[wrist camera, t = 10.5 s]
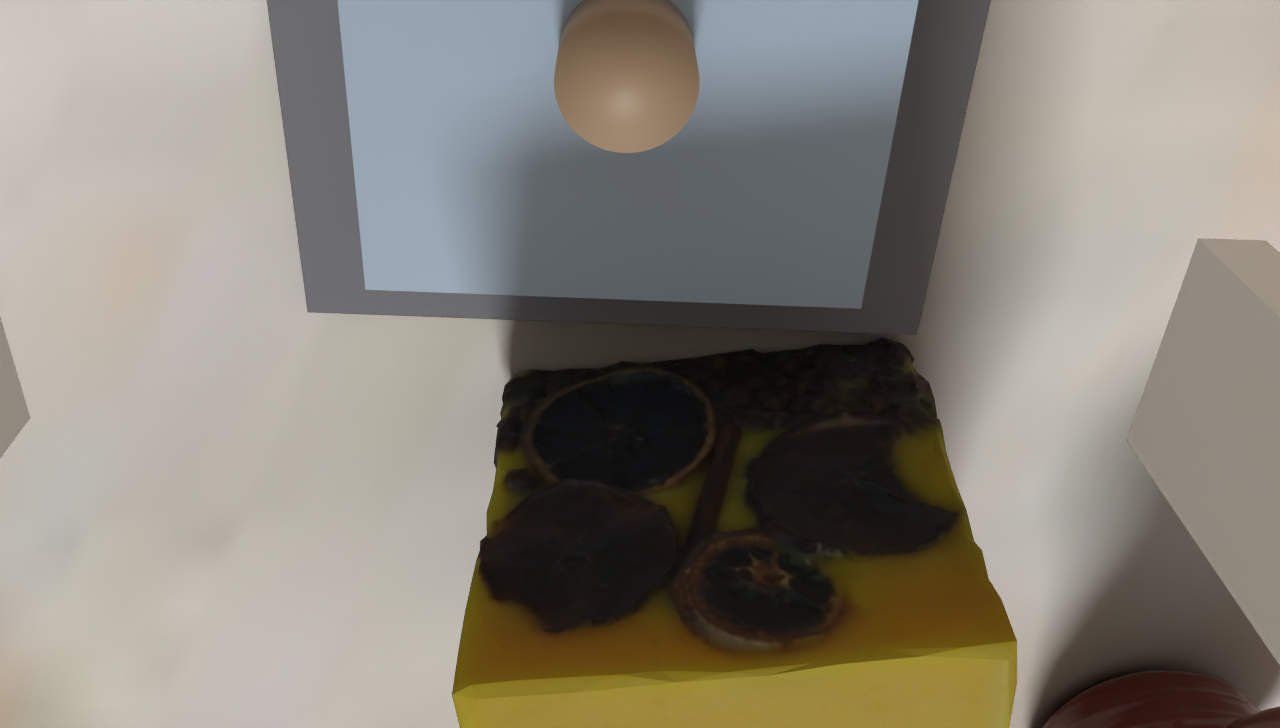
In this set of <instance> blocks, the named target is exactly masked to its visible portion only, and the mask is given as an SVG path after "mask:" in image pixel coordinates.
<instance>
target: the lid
mask: <svg viewBox="0 0 1280 728" xmlns="http://www.w3.org/2000/svg"><path fill="white" fill-rule="evenodd" d="M918 1H919V0H338V11H339V21H340V31H341V42H342V52H343V63H344V73H345V83H346V94H347V104H348V114H349V125H350V135H351V146H352V156H353V166H354V177H355V187H356V197H357V208H358V218H359V229H360V239H361V249H362V260H363V270H364V280H365V290H387V291H413V292H439V293H465V294H491V295H517V296H544V297H570V298H596V299H622V300H648V301H674V302H701V303H727V304H753V305H779V306H805V307H831V308H857V309H861V306H862V301H863V296H864V290H865V285H866V279H867V274H868V269H869V263H870V258H871V253H872V247H873V242H874V237H875V231H876V226H877V220H878V215H879V210H880V204H881V199H882V194H883V188H884V183H885V178H886V172H887V167H888V161H889V156H890V151H891V145H892V140H893V135H894V129H895V124H896V119H897V113H898V108H899V102H900V97H901V92H902V86H903V81H904V76H905V70H906V65H907V60H908V54H909V49H910V43H911V38H912V33H913V27H914V22H915V17H916V11H917V6H918Z"/></svg>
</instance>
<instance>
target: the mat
mask: <svg viewBox="0 0 1280 728" xmlns="http://www.w3.org/2000/svg"><path fill="white" fill-rule="evenodd" d="M990 1H991V0H919V1H918V6H917V11H916V17H915V22H914V27H913V33H912V38H911V43H910V49H909V54H908V60H907V65H906V70H905V76H904V81H903V86H902V92H901V97H900V102H899V108H898V113H897V119H896V124H895V129H894V135H893V140H892V145H891V151H890V156H889V161H888V167H887V172H886V178H885V183H884V188H883V194H882V199H881V204H880V210H879V215H878V220H877V226H876V231H875V237H874V242H873V247H872V253H871V258H870V263H869V269H868V274H867V279H866V285H865V290H864V296H863V301H862V306H861V309H857V308H831V307H805V306H779V305H753V304H727V303H701V302H674V301H648V300H622V299H596V298H570V297H544V296H517V295H491V294H465V293H439V292H413V291H387V290H365V280H364V270H363V260H362V249H361V239H360V229H359V218H358V208H357V197H356V187H355V177H354V166H353V156H352V146H351V135H350V125H349V114H348V104H347V94H346V83H345V73H344V63H343V52H342V42H341V31H340V21H339V11H338V0H267V6H268V13H269V21H270V29H271V36H272V44H273V52H274V59H275V67H276V75H277V82H278V90H279V97H280V105H281V113H282V120H283V128H284V136H285V143H286V151H287V159H288V166H289V174H290V181H291V189H292V197H293V204H294V212H295V220H296V227H297V235H298V243H299V250H300V258H301V265H302V273H303V281H304V288H305V296H306V304H307V311H308V312H315V313H342V314H369V315H396V316H423V317H450V318H477V319H503V320H530V321H557V322H584V323H611V324H638V325H665V326H691V327H718V328H745V329H772V330H799V331H826V332H853V333H879V334H906V335H917V331H918V326H919V322H920V317H921V313H922V308H923V304H924V299H925V295H926V290H927V286H928V281H929V277H930V272H931V267H932V263H933V258H934V254H935V249H936V245H937V240H938V236H939V231H940V227H941V222H942V218H943V213H944V209H945V204H946V200H947V195H948V191H949V186H950V182H951V177H952V173H953V168H954V164H955V159H956V155H957V150H958V146H959V141H960V136H961V132H962V127H963V123H964V118H965V114H966V109H967V105H968V100H969V96H970V91H971V87H972V82H973V78H974V73H975V69H976V64H977V60H978V55H979V51H980V46H981V42H982V37H983V33H984V28H985V24H986V19H987V15H988V10H989V5H990Z"/></svg>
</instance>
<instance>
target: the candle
mask: <svg viewBox="0 0 1280 728" xmlns="http://www.w3.org/2000/svg"><path fill="white" fill-rule="evenodd" d="M913 361H914V358H913V357H912V355H911V353H910V351H909V350H908V349H907V348H906V347H905V346H904V345H903V344H902V343H898V342H895V341H891V340H888V339H884V338H880V339H878V340H877V341H875V342H873V343H871V344H869V345H867V346H861V345H848V346H835V345H824V344H821V345H817V346H814V347H810V348H806V349H803V350H790V351H781V352H772V353H768V354H764V355H762V354H761V353H759V352H757V351H755V350H753V349H751V350H745V351H739V352H733V353H726V354H719V355H712V356H706V357H699V358H691V359H682V360H673V361H664V362H655V363H647V364H636V363H629V362H620V363H618V364H615V365H612V366H610V367H606V368H603V369H600V370H594V369H569V370H562V371H554V372H552V371H540V370H529V371H526V372H524V373H521V374H519V375H516V376H514V377H513V378H512V379H511V380H510V381H509V382H508V383H507V384H506V385H505V388H504V392H503V396H502V400H503V406H502V409H501V413H500V414H501V420H500V422H499V423H498V424H497V427H498V431H497V438H496V447H495V457H494V464H495V467H496V475H495V482H494V489H493V493H492V496H491V500H490V503H489V506H488V510H487V536H486V537H484V538H483V539H482V540H481V541H480V552H479V555H478V558H477V561H476V565H475V569H474V574H473V578H472V583H471V587H470V592H469V597H468V601H467V606H466V610H465V616H464V622H463V628H462V634H461V639H460V645H459V651H458V658H457V665H456V671H455V678H454V685H453V691H452V697H453V701H454V705H455V709H456V713H457V717H458V721H459V725H460V728H1009V725H1010V719H1011V713H1012V707H1013V702H1014V696H1015V690H1016V684H1017V640H1016V637H1015V635H1014V632H1013V629H1012V627H1011V624H1010V621H1009V619H1008V616H1007V613H1006V611H1005V608H1004V605H1003V603H1002V600H1001V598H1000V596H999V595H998V593H997V592H996V590H995V588H994V587H993V585H992V584H991V582H990V581H989V579H988V574H987V570H986V566H985V562H984V558H983V553H982V550H981V549H980V548H979V546H978V545H977V544H976V543H975V542H974V539H973V535H972V531H971V527H970V523H969V519H968V515H967V511H966V508H965V506H964V503H963V500H962V498H961V495H960V493H959V490H958V488H957V485H956V482H955V479H954V476H953V473H952V470H951V466H950V463H949V460H948V457H947V454H946V449H945V443H944V437H943V431H942V427H941V423H940V420H939V419H937V414H936V407H935V400H934V397H933V394H932V391H931V388H930V384H929V382H928V381H926V380H925V379H924V378H923V377H922V376H921V375H920V374H918V373H917V372H916V370H915V368H914V367H913V365H912V363H913Z"/></svg>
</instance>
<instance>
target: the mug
mask: <svg viewBox="0 0 1280 728" xmlns="http://www.w3.org/2000/svg"><path fill="white" fill-rule="evenodd" d="M1042 728H1280V706H1279V707H1275V708H1271V709H1267V710H1264V711H1259V710H1258V709H1257V708H1255V707H1254V706H1253V705H1252V704H1251V702H1250V701H1249V700H1248V699H1247V698H1246V697H1245V696H1244V695H1243V694H1242V693H1241V692H1240V691H1239V690H1238V689H1237V688H1235V687H1234V686H1233V685H1231V684H1229V683H1227V682H1225V681H1223V680H1220V679H1217V678H1214V677H1210V676H1206V675H1202V674H1197V673H1192V672H1183V671H1141V672H1135V673H1130V674H1127V675H1123V676H1120V677H1116V678H1113V679H1110V680H1107V681H1105V682H1102V683H1100V684H1097V685H1095V686H1093V687H1091V688H1089V689H1087V690H1085V691H1083V692H1081V693H1080V694H1078V695H1077V696H1075V697H1073V698H1072V699H1071V700H1069V701H1068V702H1067V703H1065V704H1064V705H1063V706H1062V707H1061V708H1060V709H1059V710H1058V711H1057V712H1055V713H1054V714H1053V715H1052V716H1051V717H1050V718H1049V719H1048V720H1047V722H1046V723H1045V724H1044V725H1043V727H1042Z"/></svg>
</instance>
